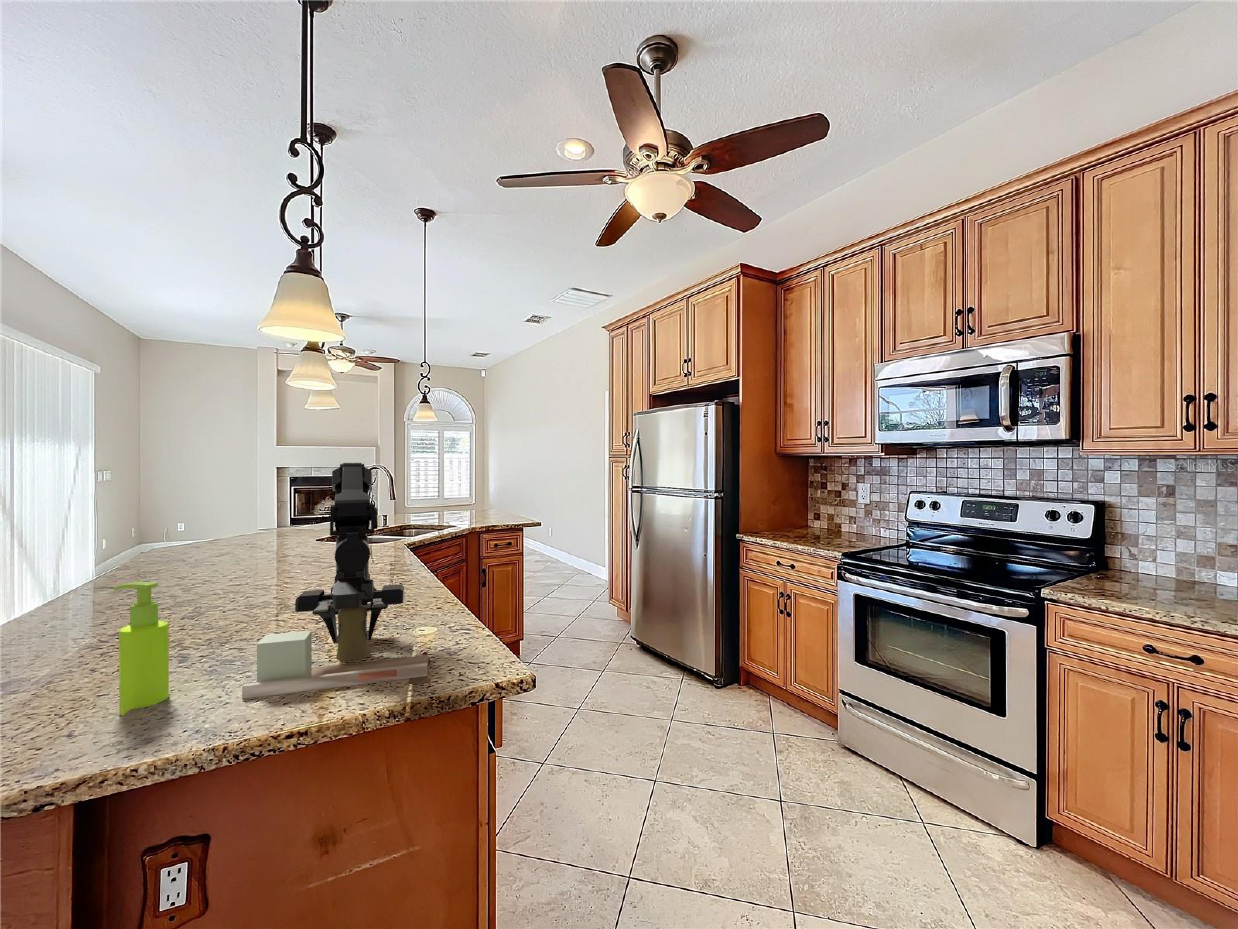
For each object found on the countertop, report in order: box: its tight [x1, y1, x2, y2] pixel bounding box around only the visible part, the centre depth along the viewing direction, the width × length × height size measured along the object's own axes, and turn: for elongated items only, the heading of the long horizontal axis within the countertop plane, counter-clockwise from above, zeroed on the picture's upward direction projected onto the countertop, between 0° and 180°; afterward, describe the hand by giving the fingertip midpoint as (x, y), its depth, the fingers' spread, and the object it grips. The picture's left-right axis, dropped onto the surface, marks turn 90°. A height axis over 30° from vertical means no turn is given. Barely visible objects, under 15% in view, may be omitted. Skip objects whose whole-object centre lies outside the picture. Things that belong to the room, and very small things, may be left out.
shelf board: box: [241, 654, 429, 700], centre depth 95 cm, size 11×28×3 cm, turn 109°
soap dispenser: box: [112, 581, 170, 717], centre depth 85 cm, size 6×7×20 cm
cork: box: [335, 605, 370, 662], centre depth 105 cm, size 6×6×11 cm
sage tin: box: [256, 630, 313, 682], centre depth 91 cm, size 5×7×8 cm
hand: (352, 641), depth 105 cm, fingers open, 6 cm apart
